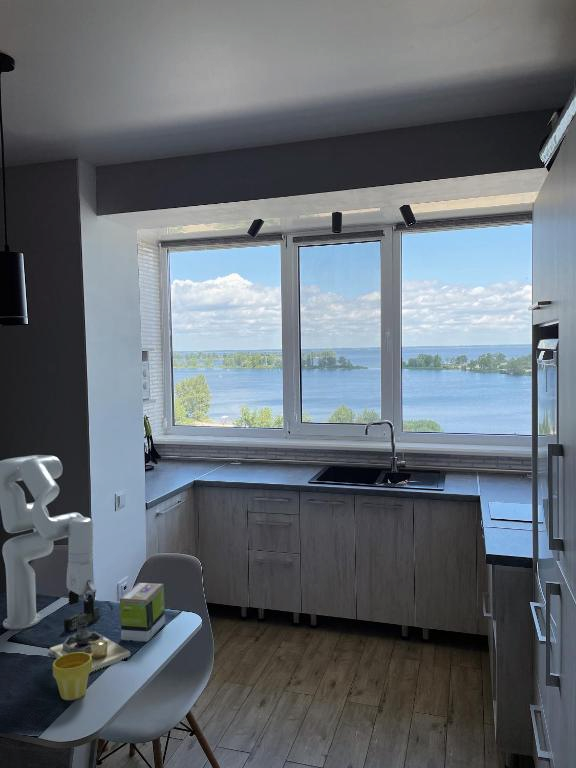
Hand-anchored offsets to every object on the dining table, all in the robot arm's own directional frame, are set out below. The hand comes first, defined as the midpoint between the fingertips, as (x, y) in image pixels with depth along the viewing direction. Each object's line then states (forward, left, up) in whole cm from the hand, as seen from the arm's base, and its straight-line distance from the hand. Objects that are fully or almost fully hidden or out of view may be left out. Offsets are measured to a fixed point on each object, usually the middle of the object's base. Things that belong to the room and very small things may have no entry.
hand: (81, 607), depth 195 cm
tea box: (+4, +21, -14) cm, 26 cm away
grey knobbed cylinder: (0, 0, -13) cm, 13 cm away
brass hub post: (+11, 0, -12) cm, 16 cm away
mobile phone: (-18, +10, -14) cm, 25 cm away
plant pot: (+23, -15, -14) cm, 31 cm away
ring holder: (+1, 0, -13) cm, 12 cm away
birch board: (+5, 0, -14) cm, 15 cm away
